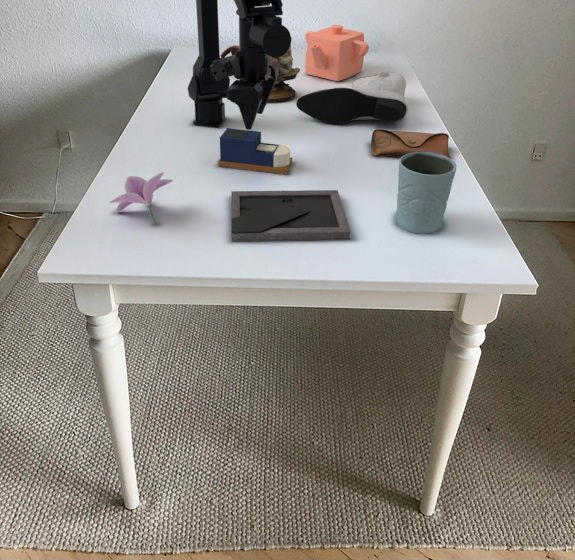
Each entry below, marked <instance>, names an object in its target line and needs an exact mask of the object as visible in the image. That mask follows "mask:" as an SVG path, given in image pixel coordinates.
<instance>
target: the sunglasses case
mask: <svg viewBox="0 0 575 560" xmlns="http://www.w3.org/2000/svg"><path fill="white" fill-rule="evenodd" d="M449 139H450V136H449V134H448V133H445V132H441V133H440V132H439V133H431V132H420V131H406V130H405V131H404V130H388V129H383V128H376V129H374V130H373V132H372V135H371V139H370V148H371V149H370V150H371V155H372V156H375V157H395V158H401V157H402V156H404V155H406V154H409V153H414V152H429V153H436V154H440V155H443V156H446V157H448V158H450V159H452V158H451V157H450V152H449Z"/></svg>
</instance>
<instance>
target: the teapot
mask: <svg viewBox="0 0 575 560" xmlns="http://www.w3.org/2000/svg"><path fill="white" fill-rule="evenodd" d="M304 39H305V41H306V42H305V43H306V50H305V57H304V72H305V74H306V75H311V76H314V77H319V78H323V79H325V80H326V79H327V80H330V81H335V82H339V81H342V80H345V79H348V78H350V77H352V76H354V75H357V74H358V73H360V72H361V71H362V69H363V66H364V58H365V56H366V55H367V54H368V52H369V49H370V45H369V44H368V43H366V41H365V33H364V32H363V31H358V30H353V29H348V28H344V26H343V25H341V24H333V25H330V26H329V27H326V28H322V29H319V30H316V31H315V30H314V31H313V30H309V31H306V32H305V34H304Z"/></svg>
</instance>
